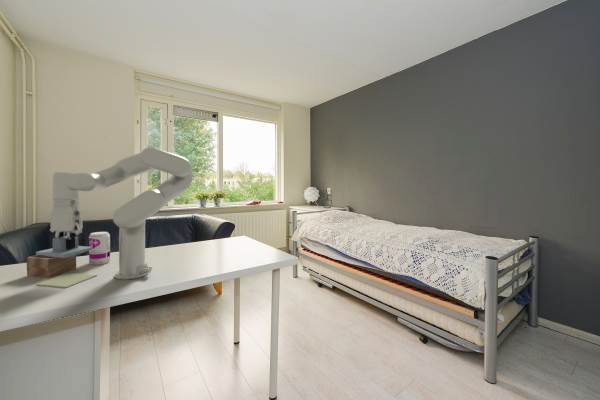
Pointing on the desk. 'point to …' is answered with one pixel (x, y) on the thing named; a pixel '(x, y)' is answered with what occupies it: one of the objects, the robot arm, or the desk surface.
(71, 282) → the felt mat
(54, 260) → the walnut box
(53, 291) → the desk surface
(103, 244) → the supplement can
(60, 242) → the lid
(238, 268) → the desk surface
